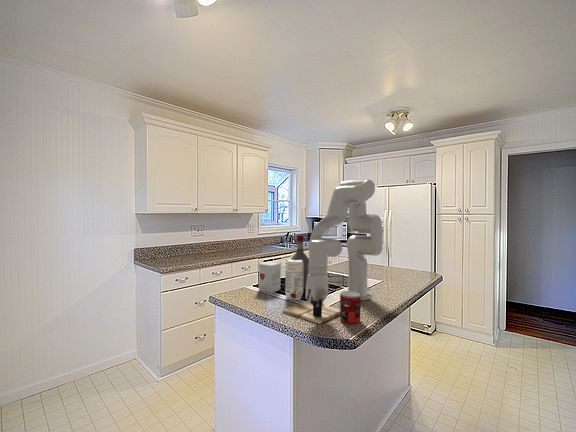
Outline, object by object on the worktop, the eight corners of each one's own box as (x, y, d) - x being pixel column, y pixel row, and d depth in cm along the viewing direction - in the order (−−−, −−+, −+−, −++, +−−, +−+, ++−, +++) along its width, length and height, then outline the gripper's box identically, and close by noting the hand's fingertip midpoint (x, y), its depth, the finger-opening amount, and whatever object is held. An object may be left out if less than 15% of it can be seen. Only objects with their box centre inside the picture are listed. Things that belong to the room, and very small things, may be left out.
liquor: (304, 285, 170) (304, 234, 169) (310, 289, 161) (311, 236, 161) (289, 286, 167) (290, 234, 167) (294, 291, 158) (295, 236, 158)
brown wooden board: (308, 302, 138) (308, 300, 138) (324, 307, 132) (324, 304, 132) (282, 312, 125) (282, 309, 125) (299, 318, 119) (299, 315, 119)
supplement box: (258, 291, 158) (258, 263, 158) (267, 287, 165) (267, 261, 165) (271, 293, 153) (271, 265, 153) (280, 289, 161) (281, 262, 160)
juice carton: (301, 300, 141) (302, 262, 141) (284, 299, 143) (284, 261, 142) (303, 296, 148) (304, 259, 148) (287, 295, 150) (287, 258, 150)
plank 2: (325, 307, 131) (325, 305, 131) (343, 312, 125) (343, 310, 125) (314, 312, 125) (314, 309, 125) (332, 317, 119) (332, 314, 119)
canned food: (337, 317, 120) (338, 291, 119) (356, 317, 120) (357, 290, 120) (342, 324, 112) (343, 296, 112) (363, 324, 113) (363, 296, 112)
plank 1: (313, 312, 124) (313, 310, 124) (331, 318, 118) (331, 315, 118) (300, 318, 118) (300, 314, 118) (319, 323, 112) (319, 320, 112)
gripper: (321, 267, 125) (320, 309, 125) (299, 271, 114) (298, 318, 114) (336, 269, 120) (335, 313, 120) (314, 274, 109) (313, 323, 109)
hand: (317, 315), depth 117 cm, fingers closed
